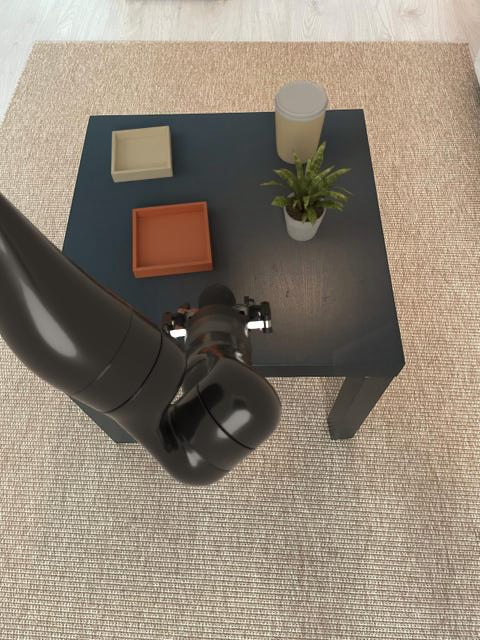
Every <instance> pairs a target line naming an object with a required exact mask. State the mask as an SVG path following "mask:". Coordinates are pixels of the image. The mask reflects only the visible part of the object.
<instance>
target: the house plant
mask: <svg viewBox="0 0 480 640" xmlns="http://www.w3.org/2000/svg"><path fill="white" fill-rule="evenodd" d="M326 141H327V140H324V141H323V142H322V143H321V144H320V145H319V146H318V147H317V151H316V153H315V156H314V157H313V159H311V156H310V158H309V160H308V162H306V167H305V171H304V168H303V164H301V161H300V159H299V157H298V155H297V154H296V153H295V152H294V150H293V149H292V152H293V155H294V161H295V164H294V165H295V168H296V173H297V176H296V175H295V174H294V173H293V172H292V171H291V170H288V169H286V168H280V169H273V171H274V172H275V173H276V174H277V175H279V176H280V178H281V179H282V180H284V181H285V182H286V184H288V186H289V187H290V189H289V188H288V187H287V186H286V185H284V184H283V183H281V182H279V181H275V180H271V181H268V182H263V183H262V184H259V185H258V187H259V186H268V185H278V186H281V187H283V188H285V189H287V190H288V191H289V192H291V191H292V192H291V193H290V194H289V195H287V196H284V195H276V196H275V198H274V199H273V200H272V202H271V204H270V206H273V207H274V206H275V207H277V208H283V213H284V218H285V225H286V231H287V234H288V235H289V237H290V238H292V239H293V240H294V241H298V242H306V241H310V240H311V239H313V238H314V237H315V236H316V234H317V232H318V229H319V227H320V225H321V223H322V220H323V218H324V216H325V214H326V212H327V209H331V210H339V211H343V209H342V208H346V206H345V205H343V203H341V202H340V201H345V202H346V203H348V199H349V200H350V198H349V197H348V196H346V195H344V194H343V193H342V192H341V191H335V190H329V189H332V188H336V189H337V188H338V189H340V190H343V191H344V192H346V193H347V194H349V195H352V196H353V197H358V196H356V195H355V194H353V193H352V192H350V191H349V190H347V188H344V187H342V186H340V185H337V184H331V183H333V182H335V181H336V180H337V179H338V178H339V177H340V176H341V175H343V174H345V173H347V172H349V171H351V170H352V168H350V167H349V168H341V169H337V170H336V171H335V170H334V172H332V173H330V174H329V175H327V174H328V173H329V172H331V170H333V168H334V167H335V165H336V164H335V165H331V166H330V167H328V168H326V169H325V170H322V171H320V169H321V167H322V164H323V161H324V151H325V148H326V143H327V142H326ZM326 175H327V176H326ZM324 198H332V199H326V200H325V199H324ZM334 199H335V200H334ZM337 200H338V201H337Z"/></svg>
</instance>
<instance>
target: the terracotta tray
mask: <svg viewBox="0 0 480 640" xmlns="http://www.w3.org/2000/svg"><path fill="white" fill-rule="evenodd" d="M207 203H208V202H207V201H206V200H205V201H197V202H196V201H195V202H187V203H186V202H185V203H177V204H166V205H158V206H148V207H147V206H146V207H139V208H137V207H136V208H132V272H133V275H134V277H135V279H142V278H151V277H161V276H170V275H178V274H179V275H181V274H189V273H199V272H207V271H208V272H209V271H214V267H213V265H214V264H213V256H212V255H213V254H212V245H211V233H210V222H209V211H208V205H207Z"/></svg>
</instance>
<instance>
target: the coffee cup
mask: <svg viewBox="0 0 480 640" xmlns="http://www.w3.org/2000/svg"><path fill="white" fill-rule="evenodd" d="M273 103H274V104H273V105H274V114H275V115H274V118H275V119H274V120H275V141H276V152H277V155H278V158H280V159H281V160H282V161H283V162H285V163H288V164H289V165H290V164H292V165H295V161H294V155H293V152H292V149H293V150H294V152H295V153H296V154H297V155H298V157H299V159H300V161H301V164H302V165H303V164H304V165H305V164H307V163H308V160H309V158H310V156H311V160H313V158H314V156H315V153H316V152H317V150H318V148H319V144H320V138H321V134H322V130H323V125H324V121H325V117H326V113H327V109H328V106H329V98H328V95H327V92H326V91H325V89H324V88H323V87H322V86H321V85H319V84H318V83H316V82H313V81H310V80H305V79H303V80H302V79H298V80H293V81H290V82H289V81H288V82H287V83H285V84H283V85H282V86H281V87H280V88H279V89H278V90H277V92H276V94H275V96H274V100H273Z"/></svg>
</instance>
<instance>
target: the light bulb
mask: <svg viewBox="0 0 480 640" xmlns="http://www.w3.org/2000/svg"><path fill="white" fill-rule="evenodd" d="M213 304H222V305H226V306H229V307H232V306H234V305H236V304H237V298H236V296H235V293H234V292H233V291H232V289H230V288H229V287H228V286H226V285H224V284H220V283H215V284H210V285H208V286H206V287H205V288H204V289H203V290H202V291H201V292H200V294H199V296H198V300H197V306H198V310H199V309H201V308H203V307H205V306H208V305H213Z"/></svg>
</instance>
